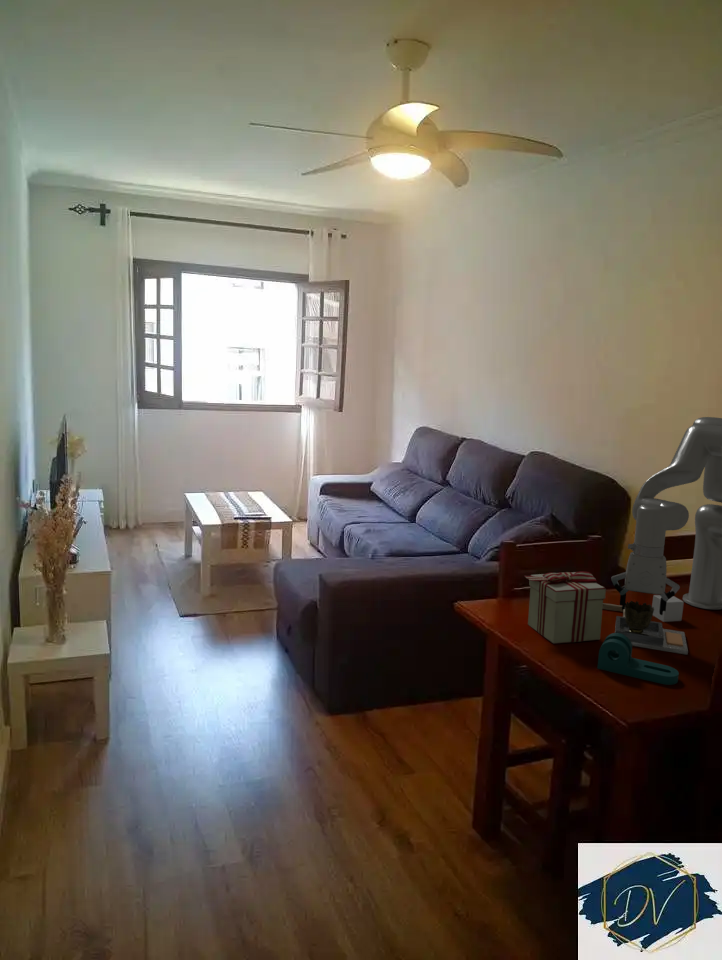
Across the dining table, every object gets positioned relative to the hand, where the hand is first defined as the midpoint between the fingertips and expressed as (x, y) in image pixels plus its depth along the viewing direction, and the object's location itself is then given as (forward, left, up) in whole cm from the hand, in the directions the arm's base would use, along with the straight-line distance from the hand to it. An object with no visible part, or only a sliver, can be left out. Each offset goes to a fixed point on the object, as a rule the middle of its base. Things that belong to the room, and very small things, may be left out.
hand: (641, 610), depth 196 cm
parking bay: (-14, -9, -8) cm, 18 cm away
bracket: (+24, -1, -8) cm, 26 cm away
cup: (0, -1, -7) cm, 7 cm away
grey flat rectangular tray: (0, +3, -8) cm, 8 cm away
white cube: (-20, +8, -8) cm, 22 cm away
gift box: (+5, -21, -8) cm, 23 cm away
